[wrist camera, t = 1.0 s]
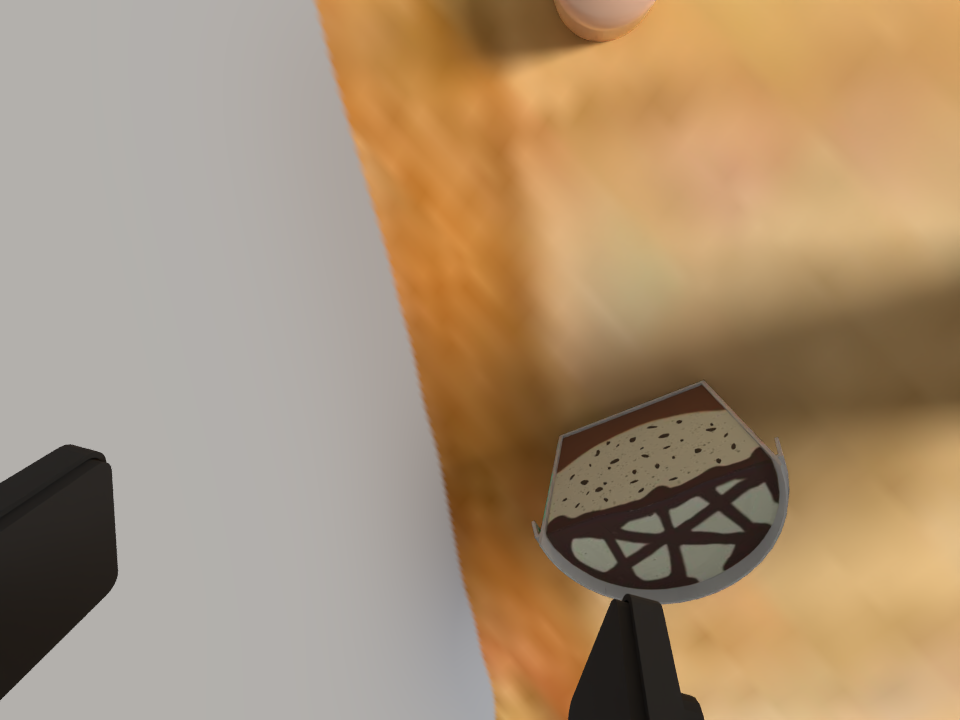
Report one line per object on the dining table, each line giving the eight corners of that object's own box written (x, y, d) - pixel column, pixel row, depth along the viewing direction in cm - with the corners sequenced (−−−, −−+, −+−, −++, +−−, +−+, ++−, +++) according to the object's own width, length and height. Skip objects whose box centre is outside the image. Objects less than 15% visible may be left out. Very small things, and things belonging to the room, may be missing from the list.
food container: (578, 517, 37) (582, 639, 28) (538, 443, 36) (529, 548, 27) (764, 454, 34) (839, 571, 25) (729, 370, 32) (795, 460, 23)
